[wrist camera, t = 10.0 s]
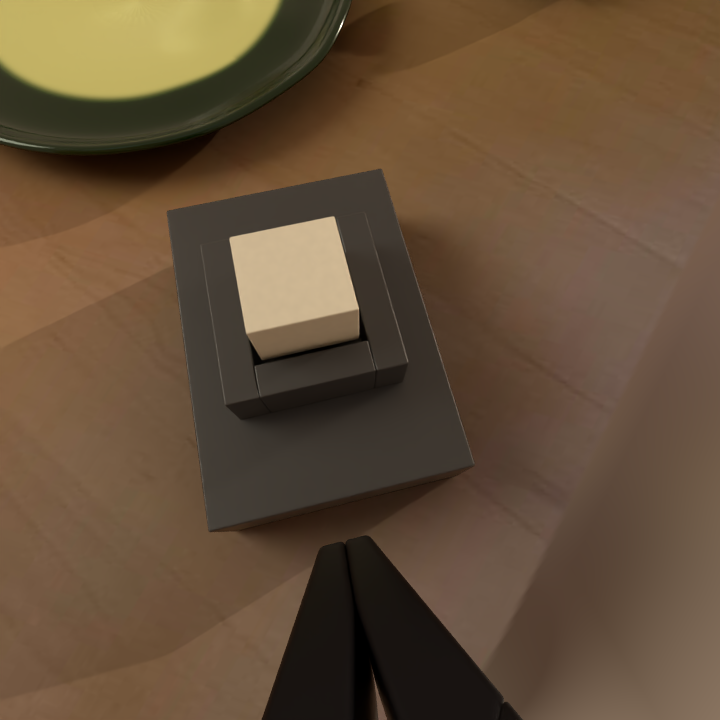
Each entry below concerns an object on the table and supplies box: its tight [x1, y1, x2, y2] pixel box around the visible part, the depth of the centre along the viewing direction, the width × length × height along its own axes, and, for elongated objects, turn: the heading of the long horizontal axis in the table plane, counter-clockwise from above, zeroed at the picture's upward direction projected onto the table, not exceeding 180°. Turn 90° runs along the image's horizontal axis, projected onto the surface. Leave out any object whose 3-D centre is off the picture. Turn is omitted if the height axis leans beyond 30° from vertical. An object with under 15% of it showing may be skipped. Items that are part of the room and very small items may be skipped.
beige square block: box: [229, 216, 359, 360], centre depth 17 cm, size 4×4×2 cm
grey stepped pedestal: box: [167, 169, 475, 532], centre depth 20 cm, size 14×10×6 cm
